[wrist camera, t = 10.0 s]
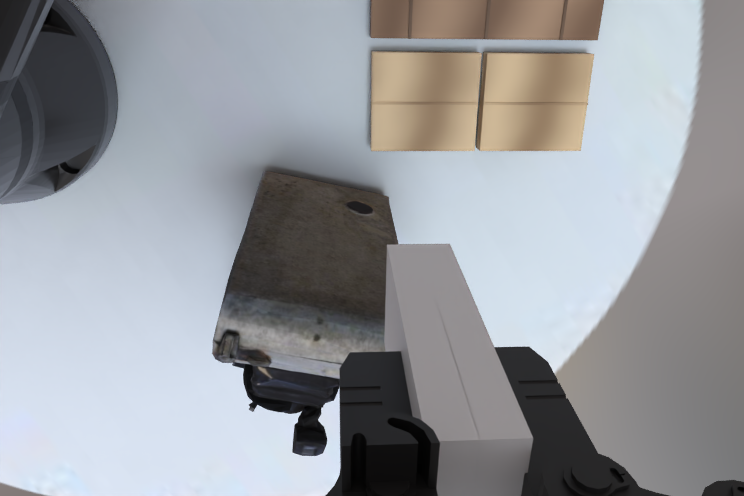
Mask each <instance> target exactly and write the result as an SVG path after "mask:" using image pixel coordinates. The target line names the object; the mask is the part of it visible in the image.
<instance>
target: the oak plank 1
mask: <svg viewBox="0 0 744 496" xmlns="http://www.w3.org/2000/svg"><path fill="white" fill-rule="evenodd" d="M481 55H482V53H479V52H410V51H371V143H370V148H371V151H474V149H475V136H476V122H477V109H478V95H479V82H480V68H481Z"/></svg>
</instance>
